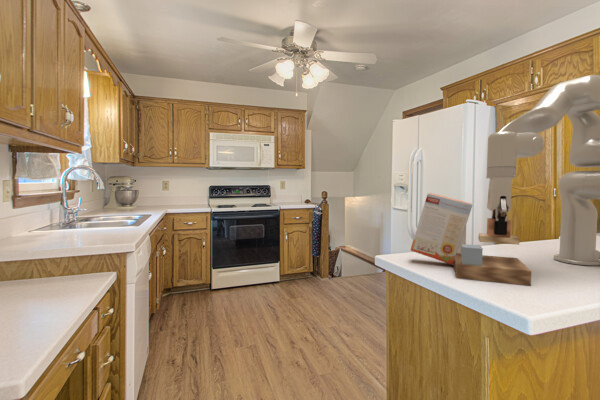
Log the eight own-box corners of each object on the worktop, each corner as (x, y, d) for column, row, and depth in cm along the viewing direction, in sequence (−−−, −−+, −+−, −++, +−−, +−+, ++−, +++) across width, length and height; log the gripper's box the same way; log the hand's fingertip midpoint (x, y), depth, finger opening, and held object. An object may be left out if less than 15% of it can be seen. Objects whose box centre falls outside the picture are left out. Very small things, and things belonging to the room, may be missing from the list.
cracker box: (453, 261, 109) (473, 203, 105) (452, 265, 103) (473, 204, 100) (412, 247, 115) (429, 192, 111) (409, 250, 109) (427, 192, 106)
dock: (516, 270, 100) (517, 258, 100) (530, 285, 85) (531, 271, 85) (453, 264, 107) (453, 252, 107) (456, 277, 92) (456, 264, 92)
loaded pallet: (515, 241, 97) (516, 219, 97) (519, 244, 92) (520, 221, 92) (478, 238, 102) (479, 217, 101) (479, 241, 96) (480, 219, 96)
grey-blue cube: (479, 262, 94) (480, 245, 94) (481, 266, 90) (482, 248, 90) (460, 260, 96) (461, 244, 96) (462, 264, 92) (462, 247, 92)
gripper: (482, 174, 105) (480, 228, 106) (491, 172, 89) (488, 236, 90) (509, 174, 102) (507, 230, 103) (522, 172, 87) (519, 238, 87)
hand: (498, 232), depth 97 cm, fingers closed on loaded pallet, 5 cm apart
